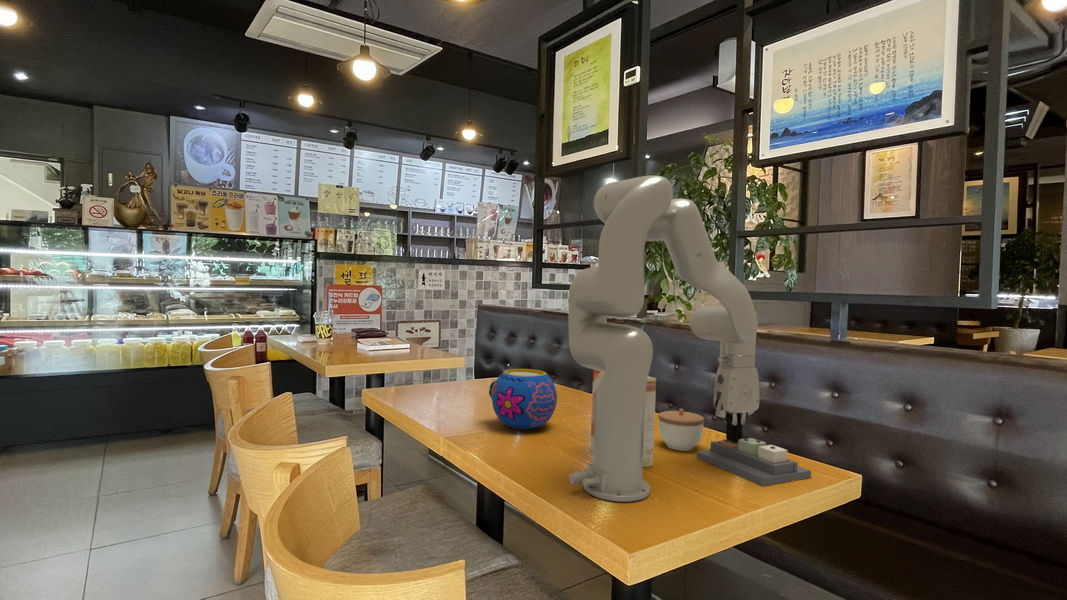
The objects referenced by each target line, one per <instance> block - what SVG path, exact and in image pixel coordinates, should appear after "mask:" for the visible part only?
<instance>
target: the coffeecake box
mask: <svg viewBox="0 0 1067 600" xmlns="http://www.w3.org/2000/svg"><path fill="white" fill-rule="evenodd" d="M592 371H593V373H592V390H591V391H592V397H591V420H590V421H591V422H590V425H591V426H590V446H589V447H590V449H589V451H591V452H593V434H594V409H595V408H594V403H595V393H596V390H597V387H598V385H599V383H600V381H601V379H602V377H603V375H604V372H603V371H599V370H595V369H592ZM656 389H657V377H653V376H649V375H648V379H647V385H646V396H645V421H644V445H643V468H647V467H652V466H654V465H653V464H654V444H655V443H654V442H655V439H654V438H655V420H656V419H655V418H656V398H657V397H656V395H657V394H656V393H657V392H656V391H657V390H656Z"/></svg>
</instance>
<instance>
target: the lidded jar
mask: <svg viewBox="0 0 1067 600" xmlns="http://www.w3.org/2000/svg"><path fill="white" fill-rule="evenodd" d="M684 410H685V409H684V408H679V409H678V410H666V411H665V410H664V411H661V412H659V413H658V431H659V435H660V438H661V439H662V441H663V442H664V444H666V447H667V448H669V449H671V450H675V451H681V452H682V451H683V452H685V451H686V452H688V451H689V452H690V451H693V449H694V448H695V447H696V446H697V445H698V443H700V441H701V438H702V435H703V433H704V432H703V431H704V422H705V417H704V416H703V415H700V414H698V413H693V412H689V411H684Z"/></svg>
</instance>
